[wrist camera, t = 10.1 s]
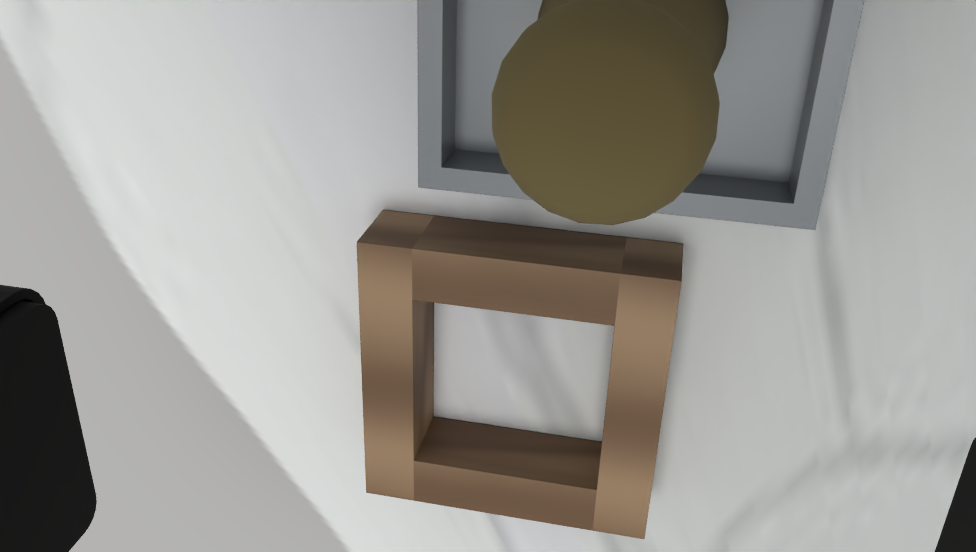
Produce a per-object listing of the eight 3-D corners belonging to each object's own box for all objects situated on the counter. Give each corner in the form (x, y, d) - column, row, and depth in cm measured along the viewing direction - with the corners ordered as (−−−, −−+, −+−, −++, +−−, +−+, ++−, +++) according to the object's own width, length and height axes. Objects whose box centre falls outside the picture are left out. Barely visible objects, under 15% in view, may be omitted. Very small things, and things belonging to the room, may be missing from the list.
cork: (770, 33, 28) (804, 146, 19) (624, 156, 31) (588, 311, 21) (638, -117, 27) (603, -77, 18) (499, 25, 30) (403, 127, 20)
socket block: (382, 209, 34) (356, 242, 32) (683, 243, 33) (681, 281, 30) (388, 447, 40) (366, 492, 37) (648, 489, 38) (644, 539, 35)
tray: (438, -159, 28) (416, -158, 26) (877, -142, 26) (893, -138, 24) (436, 162, 33) (418, 187, 31) (807, 201, 31) (815, 230, 29)
